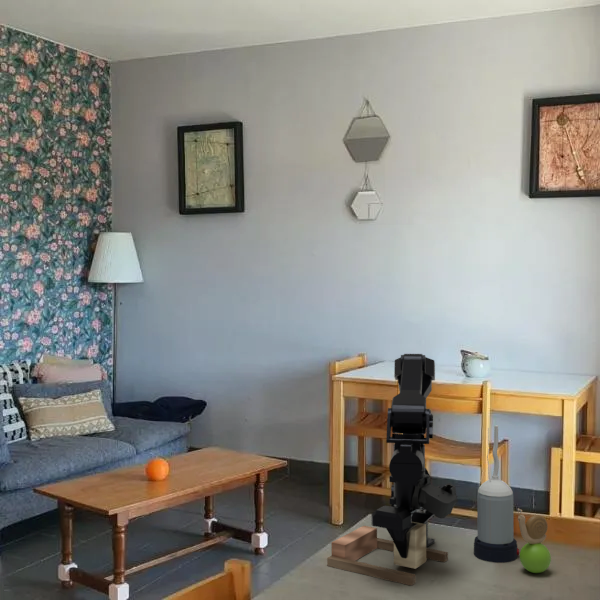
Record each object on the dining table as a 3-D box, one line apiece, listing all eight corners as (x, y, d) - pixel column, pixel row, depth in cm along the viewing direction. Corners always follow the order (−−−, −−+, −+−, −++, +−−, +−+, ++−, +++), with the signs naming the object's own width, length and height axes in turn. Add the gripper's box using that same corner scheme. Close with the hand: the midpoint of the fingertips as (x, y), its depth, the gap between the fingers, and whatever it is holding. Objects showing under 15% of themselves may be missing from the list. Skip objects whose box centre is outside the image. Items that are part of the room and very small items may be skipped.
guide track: (367, 543, 163) (367, 523, 163) (447, 559, 153) (447, 539, 153) (327, 565, 150) (327, 544, 150) (411, 585, 140) (411, 563, 140)
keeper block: (404, 557, 152) (404, 520, 152) (426, 561, 150) (425, 524, 149) (394, 564, 148) (393, 526, 148) (415, 568, 146) (415, 530, 146)
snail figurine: (509, 570, 147) (508, 505, 147) (537, 564, 150) (537, 500, 149) (528, 580, 142) (528, 513, 142) (557, 574, 145) (557, 508, 144)
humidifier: (526, 558, 153) (526, 427, 152) (492, 565, 150) (492, 431, 149) (498, 545, 161) (498, 420, 160) (465, 552, 157) (464, 424, 156)
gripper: (427, 488, 136) (427, 579, 137) (470, 465, 151) (471, 547, 152) (369, 479, 142) (370, 566, 143) (416, 458, 158) (417, 537, 158)
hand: (410, 554), depth 149 cm, fingers closed on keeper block, 4 cm apart
